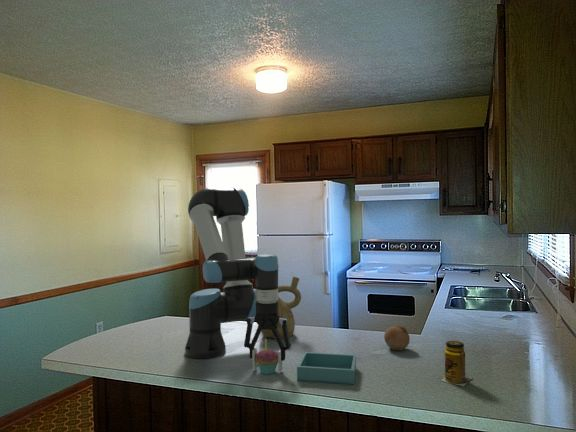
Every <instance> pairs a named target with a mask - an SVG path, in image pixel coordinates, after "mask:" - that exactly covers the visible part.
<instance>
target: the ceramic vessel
mask: <svg viewBox="0 0 576 432" xmlns="http://www.w3.org/2000/svg"><path fill="white" fill-rule="evenodd" d="M299 281H300V278H299V277H297V276H292V279H291V284H290V285H278V294H279V293H282V292H289V293H291V294H293V295H294V299H293V300H292V301H289V302H287V301H286V302H285V301H284V300H283V299H281V297H279V296H278V300H277V302H278V315H279V317H280V318H283V319H285V318H287V319H288V323H287V327H288V333H289V338H290V337H291V336H292V335H294V333H295V329H296V328H295V327H296V323H295V317H294V314H293V311H292V309H295V308H296V307H298V306H299V305H300V303H301V300H302V294H301V291H300V290H299V289H298V288H297V287H298V284H299ZM277 327H278V331H279V333H280V335H281V338H282V339H284V335H283V330H282V325H281V323H280V322H278V323H277ZM261 333H262V335H264V337H266V338H271V339H276V338H275V336H274V334H273V332H272V330H268V329H265V330H261Z"/></svg>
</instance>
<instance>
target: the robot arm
mask: <svg viewBox="0 0 576 432" xmlns="http://www.w3.org/2000/svg"><path fill="white" fill-rule="evenodd" d="M249 203H250V202H249V198H248V196H247V193H246V191H244V189H242V188H238V187H204V188H202V189H199V190H198V191H196V192H195V193H194V194H193V196H192V197H191V198H190V200H189V202H188V207H187V210H188V212H187V213H188V215H189V216H188V217H189V219H190V221H192V222H193V224H194V227H195V229H196V233H197V236H198V239H199V243H200V245H201V246H200V247H201V248H202V251H203V254H204V257H205V258H204V259H205V260H204V262H203V264H202V276H203V280H204V281H205V282H206V283H211V284H214V283H216V284H218V283H224V282H225V284H224V286H222V290H223V291H221V290H220V288H214V287H213V288H206V289H201V290H198V291H195V292H193V293H192V294H191V295H190V296H189V302H188V303H189V304H188V305H189V306H188V309H189V312H188V313H189V315H188V316H189V318H188V319H189V333H188V338H187V339H186V344H185V346H184V354H185V356H186V357H188V358H191V359H211V358H212V359H213V358H216V357H220V356H222V355H224V354H225V353H226V347H227V346H226V342H225V339H224V337H223V334H222V330H221V328H222V324H227V323H233V322H235V323H236V322H242V321H243V322H246V324H247V326H246V331H245V338H244V343H243V347H244V348H247V349H248V350H249V359H250V360H251V359H252V361H251V362H252V371H254V370H257V369H256V368H257V367H258V363H256V361H255V356H256V354H257V353H258V349H257V348H258V347H256V344H257V341H258V339H259V338H260V335H261V333H262V332H261V330H265V329H268V330H272V332H273V334H274V336H275V338H274V339H275V340H276V341H275V342H276V344H277V345H278V347H279V350H278V351H277V353H278V364H277V366H278V372H282V370H283V362H284V361H285V360H286V351H288V350H290V349H291V347H292V344H291V340H290V337H289V333H288V327H287V323H288V319H287V318H285V319H283V318H280V317H279V315H278V302H277V300H278V297H279V293H278V286H279V262H278V261H279V259H278V258H279V257H278V256H277V255H276V254H270V253H267V254H266V253H265V254H264V253H262V254H257V255H256V256H249V257H247V258H246V250H245V240H244V232H243V231H244V230H243V222H244V221H245V219H246V217H245V216H247V215H248V214H249V210H250V209H249V207H250V204H249ZM214 217H216V218H214ZM215 219H216V221H215ZM216 222H217V223H216ZM217 224H219V225H220V230H221V235H220V232H219V231H220V230H219V229H218V227H217V226H218V225H217ZM253 280H255V288H253V287H254V286H253V283H252V282H250V281H253ZM278 322H280V323H281V325H282V330H283V335H284V338H281V335H280V333H279V331H278V327H277V323H278ZM254 323H256V324H257V328H256V331H255V333H254V335H253V338H252V340H251V337H252V330H253V325H254ZM283 339H284V341H283Z"/></svg>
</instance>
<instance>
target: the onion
mask: <svg viewBox="0 0 576 432" xmlns="http://www.w3.org/2000/svg"><path fill="white" fill-rule="evenodd" d="M383 338H384V342H385V343H386V346H387V347H388V348H389V349H390V348H391V349H390V350H393V351H395V350H398V351H397V352H399V350H400V351H402V350H405V349H406V348H407V347H408V346H409V344H410V340H411V339H410V334H409V332H408V331H407V329H406V328H405V326H403V325H396V326H395V325H394V326H393V325H392V326H390V327H388V328H387V329H386V330H385V332H384V337H383Z"/></svg>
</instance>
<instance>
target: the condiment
mask: <svg viewBox="0 0 576 432" xmlns="http://www.w3.org/2000/svg"><path fill="white" fill-rule="evenodd" d="M472 379H473V377H471V376H470V377H468V376H466V351H465V344H464V343H463V342H462V341H458V340H448V341H446V342H445V350H444V377H443V378H442V379H440V380H439V381H440V382H444V383H448V384H451V385H455V386H462V387H465V386H466V385H467V384H468V383H470V381H471V380H472Z"/></svg>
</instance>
